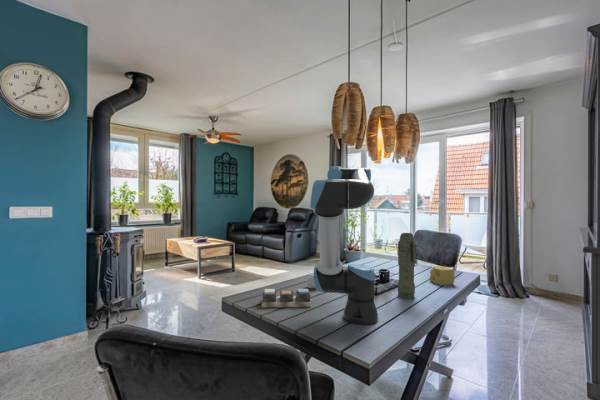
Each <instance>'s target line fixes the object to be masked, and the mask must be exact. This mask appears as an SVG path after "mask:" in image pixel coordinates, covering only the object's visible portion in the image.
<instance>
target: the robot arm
mask: <svg viewBox="0 0 600 400" xmlns="http://www.w3.org/2000/svg"><path fill="white" fill-rule="evenodd" d="M371 171H372V170H371V169H370V168H367V167H354V168H352V167H351V168H350V167H342V166H339V165H337V166H336V165H335V166H334V165H333V166H330V167H329V168H328V171H327V174H326V175H327V178H324V179H316V180H315V181H313V183H312V189H311V194H310V195H311V196H310V204H309V205H310V206H309V207H310V208H311V209H312V210H314V214H315V215H316V216H317V217H318V239H319V240H318V241H319V261H317V265H315V266H314V268H313V274H314V284H315V288H314V289H315V290H316V291H317V292H320V293H325V294H327V293H328V294H343V295H344V294H346V295H347V300H346V303H345V307H344V309H343V319H344V320H345V321H347V322H349V323H352V324H354V325H355V324H356V325H361V326H363V325H364V326H366V325H367V326H368V325H374V324H376V323H377V322H378V321H379V313H378V310H377V306H376V303H375V280H376V279H375V271H374V269H373V268H372V267H370V266H368V265H364V264H360V263H349V264H348V265H347V266H344V264H343V262H342V261H341V259H340V255H341V254H340V250H341V249H340V244H341V243H340V239H341V238H340V236H341V235H340V233H341V231H340V228H341V227H340V224H341V223H340V222H341V221H340V217H341V216H342V215H343V214H344V210H355V209H359V208H361V207H363V206H365V205H367V204H368V203H369V202H370V201H371V200H372V199H373V197H374V194H375V187H374V185H373V183H372V182H371V180H372V172H371Z"/></svg>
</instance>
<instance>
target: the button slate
mask: <svg viewBox="0 0 600 400" xmlns="http://www.w3.org/2000/svg"><path fill="white" fill-rule="evenodd" d="M297 290H298V294H309V292H310V291H309V292H308V290H309V288H297Z"/></svg>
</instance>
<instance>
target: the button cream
mask: <svg viewBox="0 0 600 400" xmlns="http://www.w3.org/2000/svg"><path fill="white" fill-rule="evenodd" d="M263 291H264V294H275V291H276V289H275V288H264V290H263Z"/></svg>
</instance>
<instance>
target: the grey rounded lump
mask: <svg viewBox="0 0 600 400" xmlns="http://www.w3.org/2000/svg"><path fill="white" fill-rule="evenodd" d="M305 281H306V285H307V287H308V289H316V288H315V284H314V273H308V275H307V277H306V280H305Z"/></svg>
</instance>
